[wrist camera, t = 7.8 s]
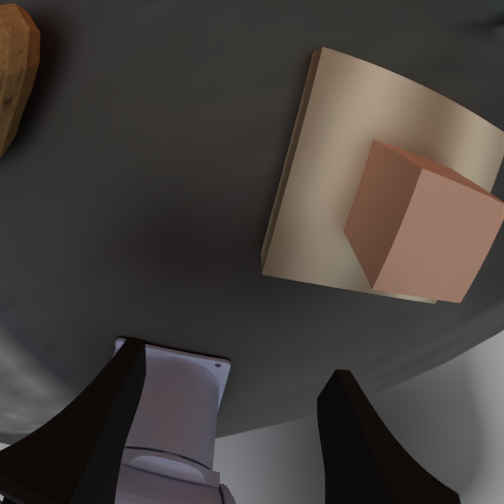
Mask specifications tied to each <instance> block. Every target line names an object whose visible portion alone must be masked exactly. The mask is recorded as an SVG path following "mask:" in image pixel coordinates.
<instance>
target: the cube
mask: <svg viewBox="0 0 504 504" xmlns="http://www.w3.org/2000/svg"><path fill="white" fill-rule="evenodd" d="M503 219H504V202H502V201H501V200H499V199H498V198H497V197H495V196H494V195H492V194H491V193H489V192H488V191H486V190H485V189H483V188H482V187H480V186H479V185H477V184H475V183H474V182H472V181H471V180H469V179H468V178H466V177H464V176H463V175H461V174H459V173H458V172H456V171H454V170H453V169H451V168H448V167H446V166H444V165H441V164H439V163H437V162H434V161H432V160H429V159H427V158H424V157H422V156H419V155H416V154H414V153H411V152H409V151H406V150H403V149H400V148H398V147H395V146H392V145H389V144H386V143H383V142H380V141H377V140H374V139H373V143H372V146H371V149H370V152H369V156H368V159H367V162H366V165H365V169H364V172H363V175H362V178H361V181H360V184H359V187H358V190H357V193H356V196H355V199H354V202H353V205H352V208H351V211H350V214H349V216H348V219H347V222H346V225H345V228H344V231H343V232H344V234H345V236H346V238H347V239H348V241H349V243H350V245H351V247H352V249H353V251H354V253H355V255H356V257H357V259H358V261H359V263H360V265H361V267H362V269H363V271H364V273H365V276H366V278H367V280H368V282H369V284H370V286H371V288H372V290H378V291H384V292H391V293H397V294H403V295H410V296H416V297H423V298H429V299H436V300H443V301H449V302H456V303H460V302H461V301H462V299H463V297H464V296H465V294H466V292H467V291H468V289H469V287H470V285H471V284H472V282H473V280H474V278H475V276H476V275H477V273H478V271H479V269H480V267H481V265H482V263H483V261H484V259H485V257H486V255H487V253H488V251H489V249H490V247H491V245H492V243H493V241H494V239H495V237H496V235H497V233H498V230H499V228H500V226H501V224H502V221H503Z"/></svg>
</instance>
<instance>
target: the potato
mask: <svg viewBox="0 0 504 504" xmlns="http://www.w3.org/2000/svg"><path fill="white" fill-rule="evenodd" d="M39 62H40V31H39V30H38V28H37V27H36V25H35V23H34V22H33V20H32V19H31V17H30V15H29V14H28V12H27V11H25V10H24V9H22V8H21V7H19V6H18V5H16V4H15V3H14V4H5V5H0V158H1V157H2V156H3V154H4V153H5V152H6V151H7V149H8V147H9V146H10V144H11V142H12V141H13V139H14V137H15V136H16V133H17V130H18V126H19V123H20V120H21V117H22V114H23V111H24V108H25V106H26V103H27V101H28V98H29V96H30V93H31V91H32V88H33V84H34V80H35V76H36V73H37V69H38V66H39Z"/></svg>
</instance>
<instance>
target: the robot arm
mask: <svg viewBox="0 0 504 504" xmlns="http://www.w3.org/2000/svg"><path fill="white" fill-rule="evenodd" d="M115 346H116V349H115V352H114V354H113V356H112V359H111V360H110V361H109V363H108V364H107V365H106V366H105V367H104V368H103V370H102V371H101V372H100V373H99V374H98V375H97V377H96V378H95V379H94V380H93V381H92V382H91V383H90V384H89V385H88V386H87V387H86V388H85V389H84V390H83V391H82V392H81V393H80V394H79V395H78V396H77V397H76V398H75V399H74V400H73V401H72V402H71V403H70V404H69V405H68V406H67V407H65V408H64V409H63V410H62V411H61V412H60V413H58V414H57V415H56V416H55V417H53V418H52V419H51V420H50V421H48V422H47V423H46V424H44V425H43V426H41V427H40V428H39V429H37V430H35V431H34V432H32V433H31V434H29V435H28V436H26V437H25V438H23V439H21V440H20V441H18V442H16V443H14V444H12V445H10V446H9V447H7V448H5V449H3V450H1V451H0V494H1V495H3V496H4V498H3V501H1V500H0V504H236V503H235V499H234V497H233V496H232V494H231V492H230V490H229V489H228V487H227V486H225V485H224V484H219V482H220V473H219V472H215V471H212V469H213V457H214V445H215V433H216V422H217V411H218V410H219V406H220V403H221V399H222V396H223V392H224V388H225V385H226V381H227V378H228V374H229V371H230V367H231V363H230V361H228V360H226V359H220V358H214V357H208V356H202V355H197V354H192V353H186V352H181V351H176V350H172V349H167V348H162V347H157V346H153V345H149V344H146V340H142V339H138V338H133V337H128V338H127V339H123V338H117V339H116V342H115ZM317 418H318V428H319V434H320V441H321V447H322V454H323V461H324V468H325V504H461V502H460V498H459V495H458V493H456V492H455V491H453V490H452V489H450V488H449V487H447V486H445V485H444V484H442V483H441V482H440V481H438V480H437V479H436V478H435V477H433V476H432V475H431V474H429V473H428V472H427V471H426V470H425V469H423V467H422V466H420V465H419V464H418V463H417V462H416V461H415V460H414V459H413V458H412V457H411V456H410V455H409V454H408V453H407V452H406V451H405V449H404V448H403V447H402V446H401V445H400V444H399V442H398V441H397V440H396V439H395V438H394V436H393V435H392V434H391V432H390V431H389V430H388V428H387V427H386V426H385V425H384V423H383V422H382V420H381V419H380V417H379V416H378V414H377V413H376V411H375V410H374V408H373V407H372V405H371V404H370V402H369V400H368V399H367V397H366V396H365V394H364V392H363V391H362V389H361V388H360V386H359V384H358V383H357V381H356V379H355V378H354V376H353V375H352V373H351V372H350V370H338V369H336V370H335V371H334V373H333V375H332V376H331V378H330V379H329V381H328V382H327V384H326V385H325V387H324V389H323V390H322V392H321V393H320V395H319V396H318V398H317Z"/></svg>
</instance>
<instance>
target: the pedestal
mask: <svg viewBox="0 0 504 504" xmlns="http://www.w3.org/2000/svg"><path fill="white" fill-rule="evenodd" d="M373 139H374V140H377V141H380V142H383V143H386V144H389V145H392V146H395V147H398V148H400V149H403V150H406V151H409V152H411V153H414V154H416V155H419V156H422V157H424V158H427V159H429V160H432V161H434V162H437V163H439V164H441V165H444V166H446V167H448V168H451V169H453V170H454V171H456V172H458V173H459V174H461V175H463V176H464V177H466V178H468V179H469V180H471V181H472V182H474V183H475V184H477V185H479V186H480V187H482V188H483V189H485V190H486V191H488V192H489V193H490V192H491V189H492V187H493V184H494V181H495V179H496V176H497V173H498V170H499V168H500V165H501V162H502V159H503V156H504V132H503V131H501V130H500V129H498V128H497V127H495V126H493V125H492V124H490V123H489V122H487V121H486V120H484V119H482V118H481V117H479V116H478V115H476V114H474V113H473V112H471V111H469V110H468V109H466V108H464V107H462V106H461V105H459V104H457V103H455V102H453V101H452V100H450V99H448V98H446V97H444V96H442V95H440V94H438V93H436V92H434V91H432V90H430V89H428V88H426V87H424V86H422V85H420V84H418V83H416V82H414V81H412V80H409V79H407V78H405V77H403V76H401V75H398V74H396V73H394V72H391V71H389V70H386V69H384V68H381V67H379V66H376V65H374V64H371V63H369V62H366V61H363V60H361V59H358V58H355V57H352V56H349V55H346V54H343V53H340V52H337V51H334V50H331V49H328V48H324V47H322V48H320V49H318V50H316V51H314V52H313V55H312V59H311V63H310V67H309V71H308V75H307V79H306V83H305V86H304V90H303V94H302V98H301V102H300V106H299V110H298V114H297V118H296V121H295V125H294V129H293V133H292V137H291V141H290V144H289V148H288V152H287V156H286V160H285V164H284V167H283V171H282V175H281V179H280V183H279V186H278V190H277V194H276V198H275V202H274V205H273V209H272V213H271V217H270V220H269V224H268V228H267V232H266V235H265V239H264V243H263V247H262V250H261V263H262V275H268V276H273V277H279V278H284V279H290V280H295V281H301V282H307V283H312V284H318V285H324V286H329V287H335V288H341V289H347V290H353V291H359V292H365V293H371V294H377V295H383V296H389V297H395V298H401V299H408V300H414V301H420V302H427V303H433V304H435V303H436V302H437V300H436V299H429V298H423V297H416V296H410V295H403V294H397V293H391V292H384V291H378V290H372V288H371V286H370V284H369V282H368V280H367V278H366V276H365V273H364V271H363V269H362V267H361V265H360V263H359V261H358V259H357V257H356V255H355V253H354V251H353V249H352V247H351V245H350V243H349V241H348V239H347V238H346V236H345V234H344V232H343V231H344V228H345V225H346V222H347V219H348V216H349V214H350V211H351V208H352V205H353V202H354V199H355V196H356V193H357V190H358V187H359V184H360V181H361V178H362V175H363V172H364V169H365V165H366V162H367V159H368V156H369V152H370V149H371V146H372V143H373Z"/></svg>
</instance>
